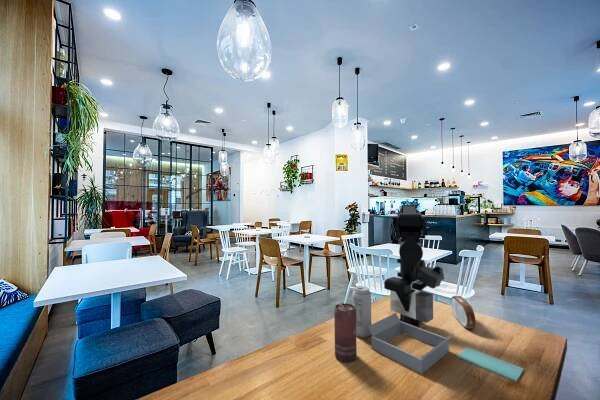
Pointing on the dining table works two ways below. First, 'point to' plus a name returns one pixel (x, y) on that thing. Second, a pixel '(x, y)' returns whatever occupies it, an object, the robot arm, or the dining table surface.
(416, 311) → the block
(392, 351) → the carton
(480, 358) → the mat
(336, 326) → the can
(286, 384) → the dining table surface
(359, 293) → the energy drink can
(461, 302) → the tin
